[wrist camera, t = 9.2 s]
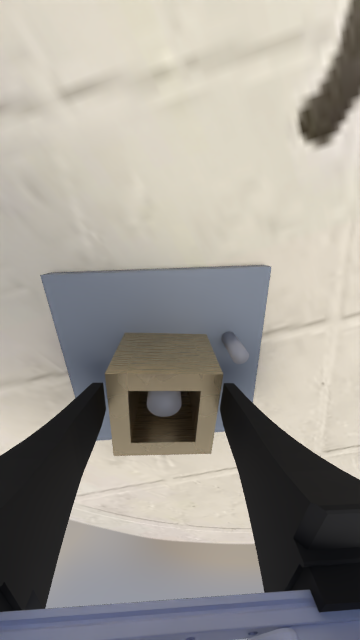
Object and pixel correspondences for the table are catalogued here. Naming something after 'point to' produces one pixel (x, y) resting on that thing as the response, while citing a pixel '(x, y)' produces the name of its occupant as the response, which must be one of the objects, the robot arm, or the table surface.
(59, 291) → the post plate
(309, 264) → the table surface
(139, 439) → the wooden collar
